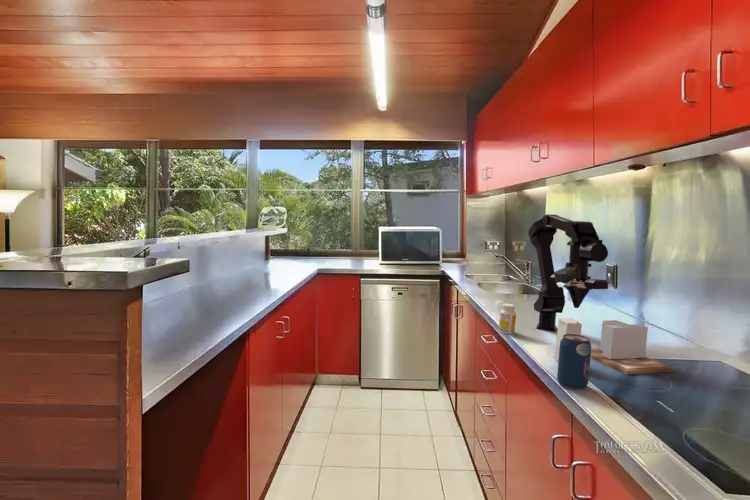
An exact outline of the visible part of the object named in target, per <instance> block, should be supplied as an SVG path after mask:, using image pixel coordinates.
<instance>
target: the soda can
mask: <svg viewBox="0 0 750 500" xmlns="http://www.w3.org/2000/svg"><path fill="white" fill-rule="evenodd" d="M591 349H592V345H591V343H590V338H589V337H587V336H584V335H582V334H581V335H576V334H565V335H563V338H562V340H561V341H560V349H559V361H557V362H558V363H557V371H556V372H557V373H556V374H557V375H556V378H557V381H558V383H559V385H560V386H561V387H564V388H566V389H568V390H572V389H583V390H584V389H585V388H586V387H587V386H588V384H589V377H590V367H591V358H590V357H591Z"/></svg>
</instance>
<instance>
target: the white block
mask: <svg viewBox="0 0 750 500" xmlns="http://www.w3.org/2000/svg"><path fill="white" fill-rule="evenodd" d="M648 328H649V327H648V326H645V325H642V324H640V323H639V324H628V323H627V322H623V321H620V320H616V319H615V320H612V319H610V320H602V322H601V331H600V333H601V334H600V345H599V349H600V350H601V351H603V355H602V356H604V357H606V358H608V359H627V358H645V357H646V349H647V340H648V331H649V329H648Z"/></svg>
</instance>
